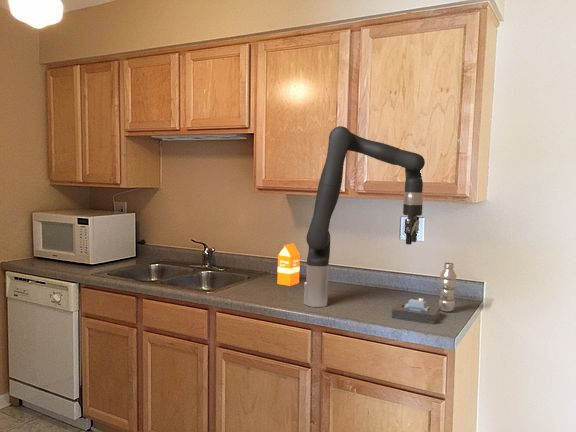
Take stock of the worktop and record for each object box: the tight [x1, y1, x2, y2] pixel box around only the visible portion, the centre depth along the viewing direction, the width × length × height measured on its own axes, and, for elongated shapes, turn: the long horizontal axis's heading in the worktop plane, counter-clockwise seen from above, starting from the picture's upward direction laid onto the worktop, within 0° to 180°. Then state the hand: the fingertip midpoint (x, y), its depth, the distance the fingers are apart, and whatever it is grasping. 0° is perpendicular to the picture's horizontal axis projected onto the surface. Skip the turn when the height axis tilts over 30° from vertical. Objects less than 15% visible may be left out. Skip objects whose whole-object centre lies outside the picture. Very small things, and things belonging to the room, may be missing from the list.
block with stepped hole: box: [391, 301, 442, 325], centre depth 194 cm, size 16×14×4 cm
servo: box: [404, 297, 430, 311], centre depth 194 cm, size 9×4×7 cm, turn 63°
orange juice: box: [276, 242, 301, 287], centre depth 247 cm, size 8×9×20 cm
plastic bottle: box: [438, 262, 457, 312], centre depth 202 cm, size 6×7×20 cm
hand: (411, 243), depth 200 cm, fingers open, 8 cm apart
